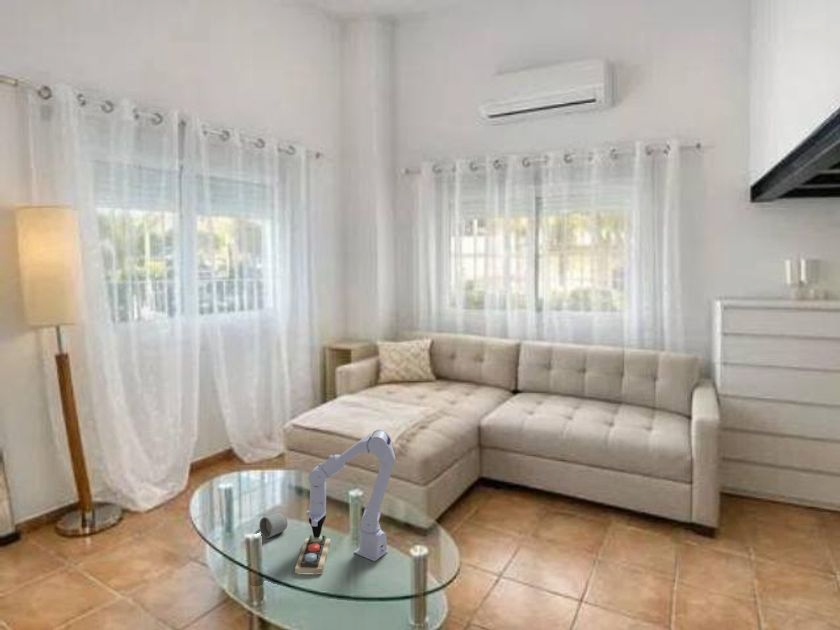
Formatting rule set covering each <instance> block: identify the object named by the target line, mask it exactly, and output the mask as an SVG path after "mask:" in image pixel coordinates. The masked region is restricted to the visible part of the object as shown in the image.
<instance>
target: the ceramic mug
mask: <svg viewBox="0 0 840 630" xmlns="http://www.w3.org/2000/svg"><path fill="white" fill-rule="evenodd" d="M258 526H259V532H260V534H261V533H262V534H263V535H262V534H261V535H262V536H263V538H265V539H269V538H271V537H274V536H276V535H278V534H281V533H283V532H284V531H285V530H286V529H287V527H288V519H287V516H286V515H285V514H284V513H283V512H277V513H273V514H269V515H266V516H263V517H262V518H261V519H260V521H259V525H258Z"/></svg>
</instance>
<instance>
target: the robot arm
mask: <svg viewBox="0 0 840 630" xmlns="http://www.w3.org/2000/svg"><path fill="white" fill-rule="evenodd" d="M361 453H364V454H370V453H371V454H372V455H374V456H375V457H376V458H377V459H378V460H379V461H380V466H379V470H378V472H377V475H376V479H375V482H374V485H373V488H372V492H371V495H370V498H369V501H368V505H367V506H366V507H364V509H363V514H362V517H361V519H360V522H359V548H357V549H356V550H354V552H353V553H354V554H356V555H358V556H361V557H363V558H365V559H368V560H371V561H372V562H376V561H377V560H378V559H380V558H382V557H383V556H384V555H385V554H387V553H388V549H387V548H388V547H387V546H388V544H387V543H388V536H387V533H386V532H384V531H383V530H382V528H381V525H380V523H379V521H380V518H381V515H382V514H381V513H382V512H381V507H382V503H383V500H384V496H385V493H386V491H387V487H388V484H389V481H390V477H391V474H392V471H393V467H394V465H395V461H396V455H395V451H394V447H393V444H392V439H391V436H390V435H389V434H388V432H387V431H385V430H384V429H376V430H374V431H373V432H372V433H370V434H368V435H366V436H364V437H362V439H360V440H359V441H357V442H356V443H354V444H353V445H352V446H350V447H349V448H348V449H346V450H345V451H344V452H343V453H341V454H338V453H337V454H336V453H335V454H334V455H333V454H330V455H329V456H328V458H327V459H326V460H325V461H323V462H320V463H318V465H316V466H314V468H313V469H312V470H311V472H310V473H309V476H308V481H309V484H310V487H309V510H306V513H305V515H308V517H309V518H308V524H309V525H310V527H311V529H312V535H313V536H314V537H320V535H322V534H321V533H322V529H323V525H324V523H325V521H326V518H327V510H326V509H327V479H330V478H331V477H333V476H335V475H336V474H337V473H339V472H341V471H342V470H343V469H344V468H345V464H346V463H347V462H350V461H351V460H352V459H353V458H355V457H357V456H358V455H360V454H361Z"/></svg>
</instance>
